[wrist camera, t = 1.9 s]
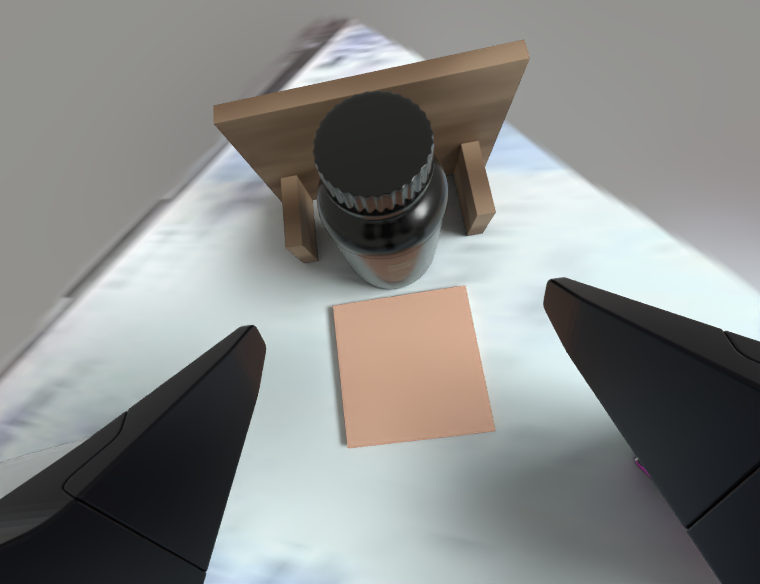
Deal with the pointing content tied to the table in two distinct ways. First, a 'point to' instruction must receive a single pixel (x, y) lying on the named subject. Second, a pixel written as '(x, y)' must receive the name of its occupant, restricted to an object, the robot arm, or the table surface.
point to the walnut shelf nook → (414, 81)
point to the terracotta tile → (411, 368)
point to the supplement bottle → (381, 186)
